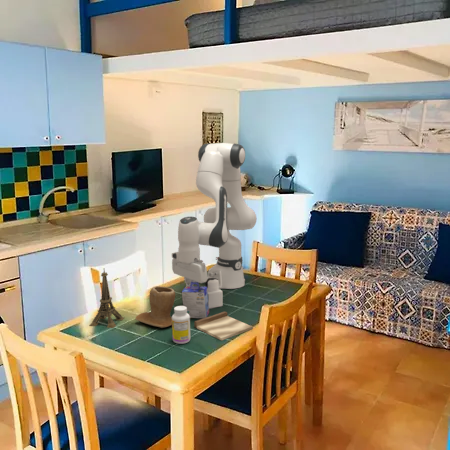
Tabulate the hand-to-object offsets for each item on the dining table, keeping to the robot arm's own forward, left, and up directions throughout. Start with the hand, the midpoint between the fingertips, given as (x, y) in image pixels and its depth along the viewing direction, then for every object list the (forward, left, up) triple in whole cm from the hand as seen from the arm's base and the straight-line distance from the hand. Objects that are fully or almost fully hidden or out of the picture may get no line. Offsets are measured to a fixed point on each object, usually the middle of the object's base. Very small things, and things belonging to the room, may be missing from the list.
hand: (189, 288), depth 210 cm
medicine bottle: (-2, +13, -12) cm, 18 cm away
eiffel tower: (-16, -31, -12) cm, 36 cm away
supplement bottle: (+19, -19, -12) cm, 29 cm away
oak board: (+20, 0, -11) cm, 23 cm away
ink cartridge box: (+4, 0, -11) cm, 12 cm away
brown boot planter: (-1, -16, -12) cm, 20 cm away
